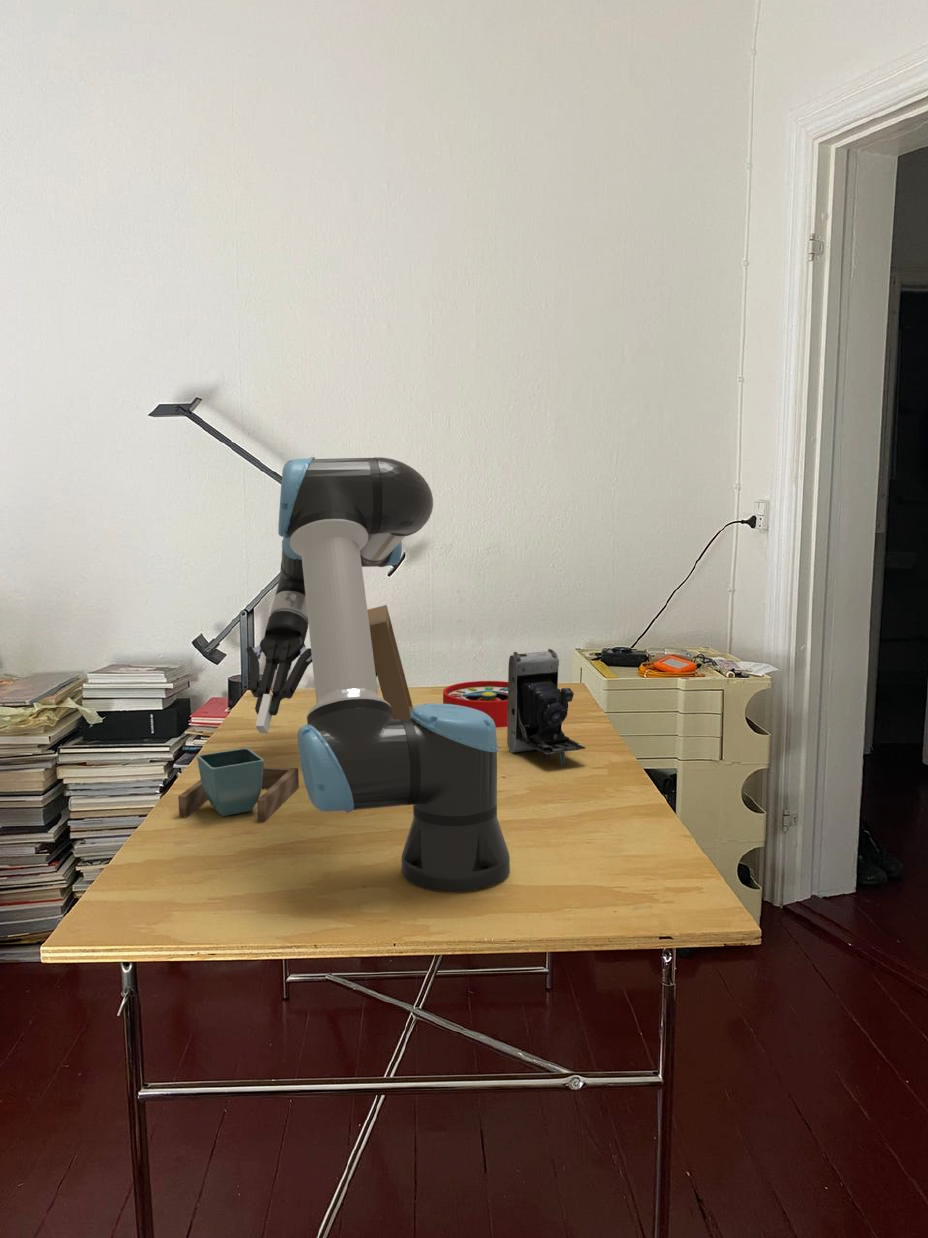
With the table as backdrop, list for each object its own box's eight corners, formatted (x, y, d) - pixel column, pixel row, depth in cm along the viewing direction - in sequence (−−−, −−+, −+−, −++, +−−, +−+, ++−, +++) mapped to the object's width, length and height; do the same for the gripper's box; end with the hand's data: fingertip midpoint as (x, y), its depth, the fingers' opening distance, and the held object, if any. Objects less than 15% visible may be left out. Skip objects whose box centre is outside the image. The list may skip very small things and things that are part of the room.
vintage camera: (542, 774, 193) (546, 668, 190) (504, 750, 207) (507, 650, 203) (588, 769, 197) (593, 664, 194) (548, 744, 211) (552, 646, 207)
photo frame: (414, 717, 233) (412, 604, 229) (417, 745, 211) (415, 621, 207) (346, 719, 232) (343, 605, 228) (342, 747, 210) (338, 622, 206)
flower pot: (198, 807, 176) (195, 754, 175) (249, 798, 180) (247, 746, 179) (213, 823, 168) (211, 768, 167) (267, 813, 173) (265, 760, 171)
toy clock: (535, 702, 223) (439, 701, 223) (535, 729, 224) (440, 728, 224) (533, 680, 242) (445, 680, 243) (533, 705, 243) (445, 705, 244)
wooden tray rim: (264, 821, 169) (264, 800, 168) (179, 817, 171) (178, 796, 171) (298, 787, 186) (298, 768, 185) (220, 783, 188) (219, 764, 187)
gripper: (250, 608, 199) (219, 717, 185) (317, 609, 197) (291, 720, 183) (261, 631, 205) (232, 738, 191) (326, 632, 203) (302, 741, 189)
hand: (261, 729), depth 187 cm, fingers closed
